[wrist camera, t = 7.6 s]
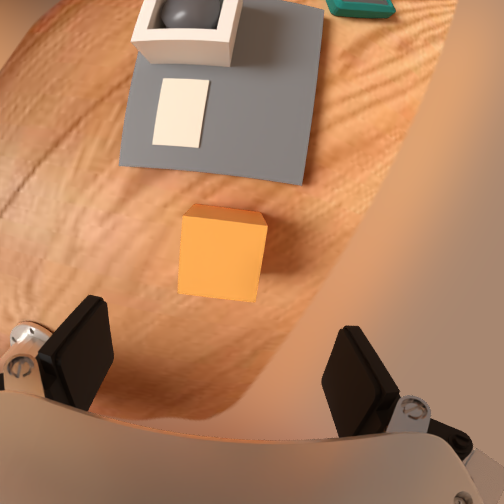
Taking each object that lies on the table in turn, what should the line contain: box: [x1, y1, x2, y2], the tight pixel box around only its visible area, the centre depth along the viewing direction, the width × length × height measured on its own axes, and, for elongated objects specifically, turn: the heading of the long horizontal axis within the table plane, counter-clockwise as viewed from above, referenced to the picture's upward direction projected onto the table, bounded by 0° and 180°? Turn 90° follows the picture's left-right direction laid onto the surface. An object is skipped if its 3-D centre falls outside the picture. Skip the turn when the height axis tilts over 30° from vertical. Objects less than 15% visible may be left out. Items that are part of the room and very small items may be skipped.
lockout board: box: [119, 0, 324, 186], centre depth 18 cm, size 18×16×7 cm
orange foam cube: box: [178, 204, 268, 302], centre depth 23 cm, size 6×6×6 cm
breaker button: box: [161, 0, 220, 30], centre depth 16 cm, size 4×4×4 cm
